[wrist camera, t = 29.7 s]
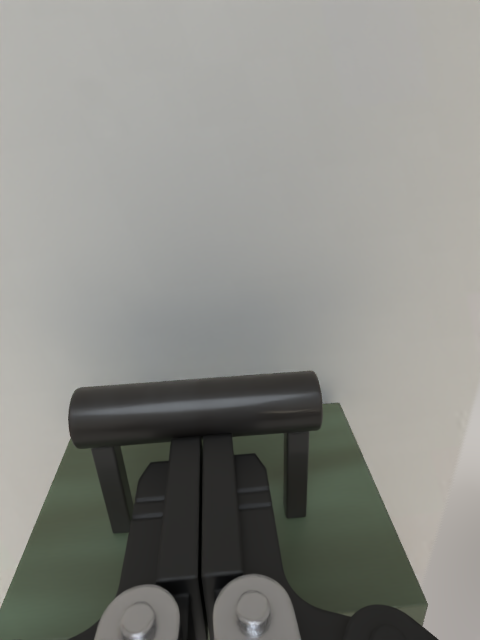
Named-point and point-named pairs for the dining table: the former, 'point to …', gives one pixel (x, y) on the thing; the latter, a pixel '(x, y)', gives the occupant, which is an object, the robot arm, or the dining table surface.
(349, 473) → the drawer
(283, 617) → the robot arm
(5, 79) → the dining table surface
